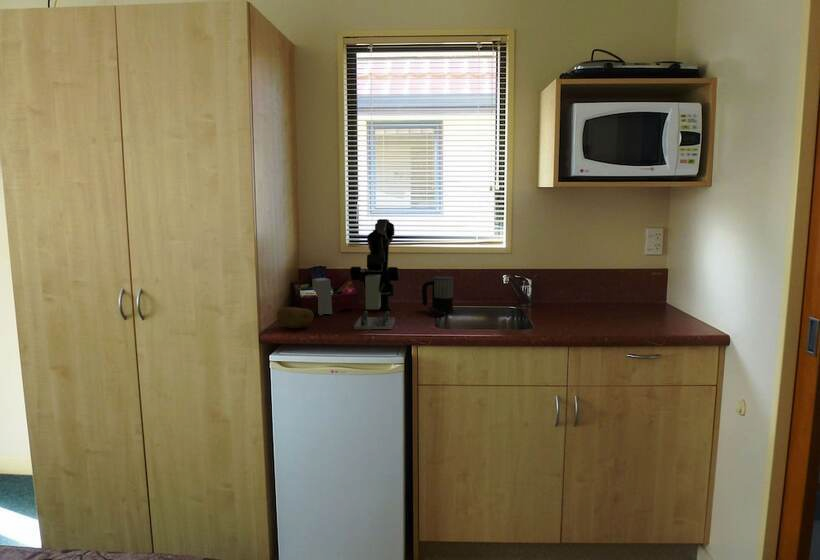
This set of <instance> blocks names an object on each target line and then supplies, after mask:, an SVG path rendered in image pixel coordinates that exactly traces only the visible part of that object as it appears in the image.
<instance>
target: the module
mask: <svg viewBox="0 0 820 560" xmlns="http://www.w3.org/2000/svg"><path fill="white" fill-rule="evenodd" d="M380 282H381V275H370V274H368V275H366V277H365V288H364V291H365V290H366V292H365V310H376V309H379V308H380V307H381V292H379V286H380Z"/></svg>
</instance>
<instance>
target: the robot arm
mask: <svg viewBox="0 0 820 560" xmlns="http://www.w3.org/2000/svg"><path fill="white" fill-rule="evenodd" d="M394 236H395V226H394V224H393V223H392V222H391V221H390V219H387V218H386V219H385V218H384V219H383V218H382V219H381V218H379V219H377V220H376V223H375V224H374V229H373V230H372V232H370V233H368V235H367V237H366V238H367V239H366V241H367V245H368V249H369V253H368V254H366V269H365V268H362V266H351V267H350V270H349V274H350V279H351V280H352V281H359V282H360V283H362V285H363V287H364V291H365V293H366V290H365V277H366V276H367V275H368V274H370V275H381V282H380V286H379V292H381V307H380V308H379V309H375V311H391V306H390V297H392V296H394V293H395V292H394V285H393V283H392V281H395V282H398V281H399V280H400V272H399V271H400V270H399V268H398V266H389V254H390V253H389V251H390V244H391V243H392V241H393V240H394V239H393V238H394Z"/></svg>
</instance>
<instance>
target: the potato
mask: <svg viewBox="0 0 820 560" xmlns="http://www.w3.org/2000/svg"><path fill="white" fill-rule="evenodd" d="M314 313H315V312H314V311H313V310H311V309H309V308H302V307H295V306H294V307H293V306H284V307H281V308H279V309H278V311H277V313H276V317H277V320H278V321H279V323H280V324H282V326H284V327H285V328H289V329H300V328H305V327H307V326H308V325H309V324H310V323H312V322H313V320H314V316H315V314H314Z"/></svg>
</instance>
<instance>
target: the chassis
mask: <svg viewBox="0 0 820 560" xmlns="http://www.w3.org/2000/svg"><path fill="white" fill-rule="evenodd" d="M368 314H369V311H368V310H364V311H363V316H362V315H361V316H360V317H359V318H358V320H357V321H356V322H355V324H354V325H353V330H372V329H391V330H392V329H393V327H394V324H395V321H396V318H395V317H393V316H392V317H390V311H389V310H385V313H384V315H385V316H384V315H383V316H379V317H378V316H376V317H375V316H374V317H373V316H369V315H368ZM368 316H369V317H368ZM392 326H393V327H392Z"/></svg>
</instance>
